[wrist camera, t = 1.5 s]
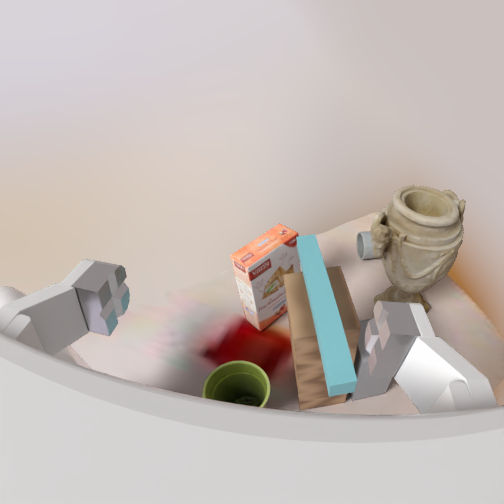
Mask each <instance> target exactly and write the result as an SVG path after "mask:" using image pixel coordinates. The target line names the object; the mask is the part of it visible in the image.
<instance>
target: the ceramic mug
mask: <svg viewBox="0 0 504 504" xmlns="http://www.w3.org/2000/svg"><path fill="white" fill-rule="evenodd" d="M370 233H371V231H369V232H359V233H358V234H357V251H358V255H359V257H360V259H361V260H364V259H371V258H375V257H374V255H373V245H372V242H371V239H372V237H371V234H370Z"/></svg>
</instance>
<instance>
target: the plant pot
mask: <svg viewBox="0 0 504 504" xmlns="http://www.w3.org/2000/svg"><path fill="white" fill-rule="evenodd" d="M269 395H270V381H269V378H268V376H267V374H266V373H265V372H264V370H263V369H261V368H260V367H259V366H257V365H256V364H254V363H251V362H247V361H231V362H228V363H225V364H223V365H221V366H219V367H217V368H216V369H214V370H213V371H212V372H211V373H210V374H209V376H208V377H207V379H206V380H205V383H204V385H203V390H202V396H203V398H206V399H211V400H217V401H222V402H228V403H235V404H241V405H248V406H255V407H262V408H265V404H266V402H267V400H268V398H269ZM247 399H250V400H251V401H244V400H247Z"/></svg>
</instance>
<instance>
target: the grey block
mask: <svg viewBox="0 0 504 504" xmlns="http://www.w3.org/2000/svg"><path fill="white" fill-rule="evenodd" d="M370 320H371V319H369V320H364V321H359V323H360V326H361V329H360V335H359V340H358V345H357V350H356V355H355V360H354V365H353V366H354V370H355V374H356V377H357V384H356V387H355V391H354V392H351V398H352V401H354V400H359V399H363V398H368V397H372V396H376V395H381V394H385V393H386V391H387V388H388V386H389V384H390V382H391V380H392V378H393V377H381V376H370V372H369V366H368V357H369V355H370V353H369V352H368V351H367V350H366V348H365V332H366V328H367V325H368V322H369V321H370Z"/></svg>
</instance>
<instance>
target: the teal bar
mask: <svg viewBox="0 0 504 504" xmlns="http://www.w3.org/2000/svg"><path fill="white" fill-rule="evenodd" d="M296 238H297V250H298V255H299V259H300V263H301V268H302V272H303V276H304V280H305V285H306V289H307V294H308V298H309V303H310V307H311V312H312V316H313V321H314V325H315V330H316V335H317V340H318V344H319V349H320V354H321V359H322V364H323V369H324V374H325V379H326V384H327V389H328V395H329V397H331V396H336V395H342V394H347V393H351V392H354V391H355V387H356V384H357V377H356V374H355V370H354V366H353V362H352V358H351V354H350V350H349V347H348V343H347V339H346V336H345V332H344V329H343V325H342V321H341V318H340V314H339V311H338V307H337V304H336V301H335V297H334V294H333V291H332V287H331V284H330V281H329V277H328V274H327V271H326V268H325V264H324V261H323V258H322V255H321V252H320V249H319V246H318V243H317V240H316V236H315V234H313V235H307V236H300V237H296Z"/></svg>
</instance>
